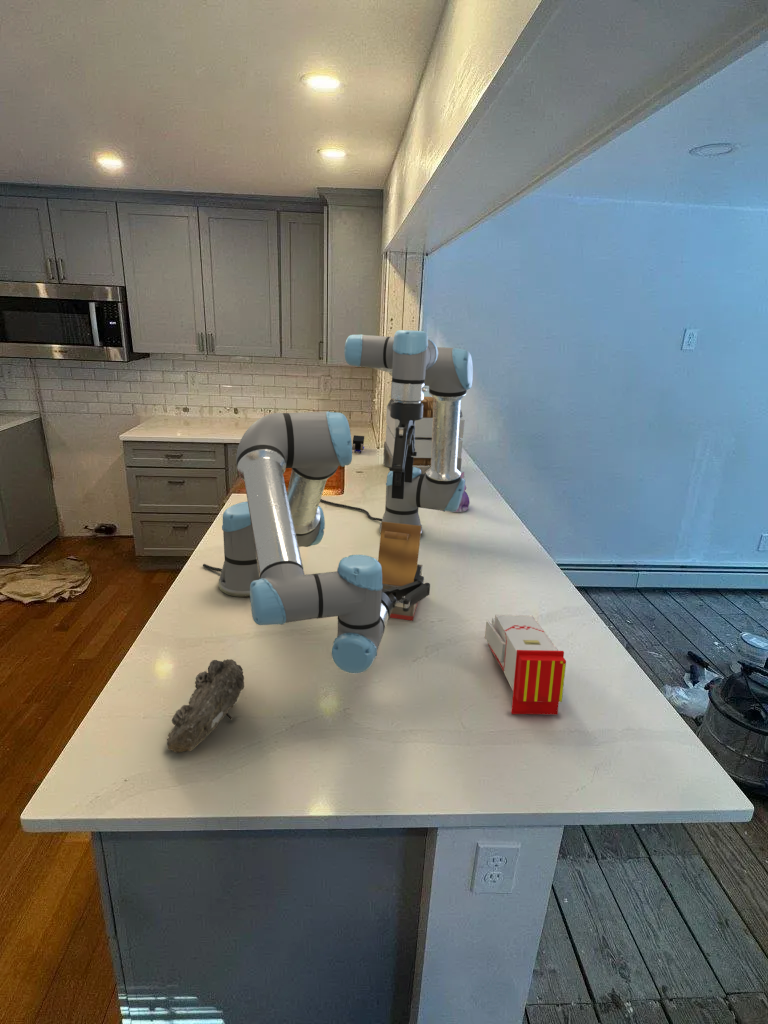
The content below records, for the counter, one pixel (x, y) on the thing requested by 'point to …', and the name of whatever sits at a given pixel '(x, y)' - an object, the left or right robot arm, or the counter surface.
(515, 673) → the toy
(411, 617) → the chest
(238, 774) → the counter surface
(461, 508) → the figurine
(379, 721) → the counter surface
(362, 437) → the figurine character
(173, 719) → the fossil
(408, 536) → the lid
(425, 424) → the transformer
